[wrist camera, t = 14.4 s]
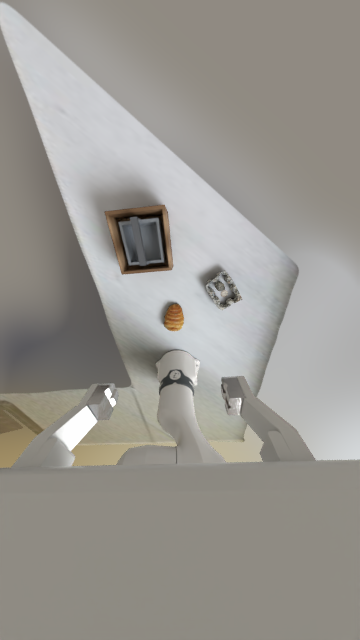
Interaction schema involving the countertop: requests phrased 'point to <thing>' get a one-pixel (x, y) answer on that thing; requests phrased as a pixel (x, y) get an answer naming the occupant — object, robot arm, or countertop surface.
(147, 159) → the countertop surface
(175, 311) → the pastry
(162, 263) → the big crate
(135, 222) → the small crate
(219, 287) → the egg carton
